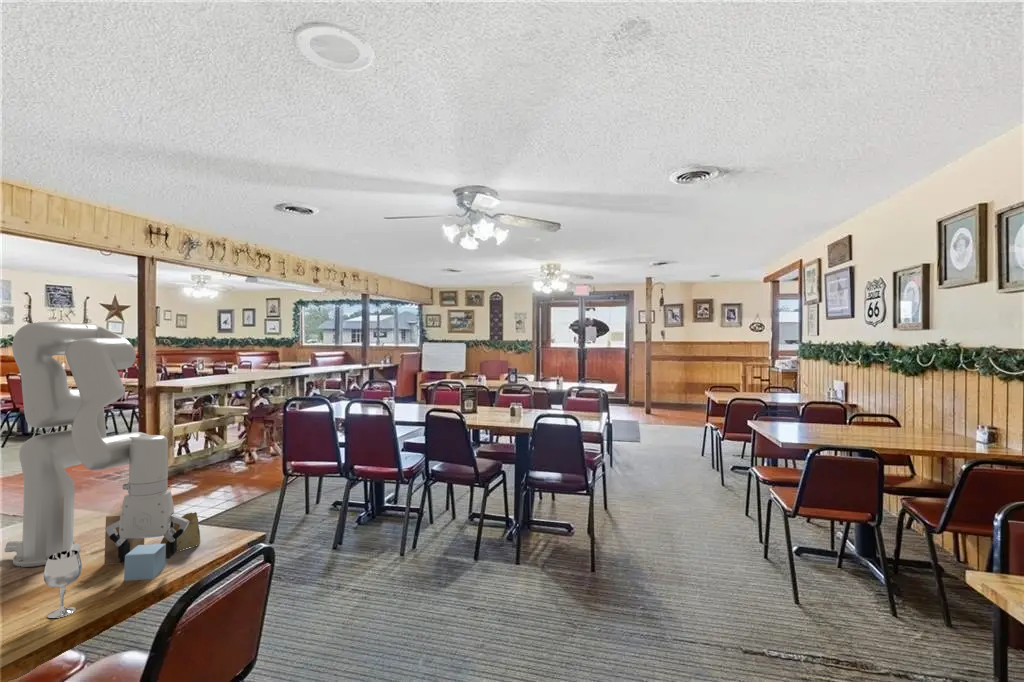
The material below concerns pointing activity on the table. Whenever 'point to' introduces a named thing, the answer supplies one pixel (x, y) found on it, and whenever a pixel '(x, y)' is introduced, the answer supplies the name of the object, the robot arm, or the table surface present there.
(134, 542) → the tower base
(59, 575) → the wineglass
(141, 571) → the blue block
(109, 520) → the tower mid
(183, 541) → the rock
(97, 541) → the table surface
